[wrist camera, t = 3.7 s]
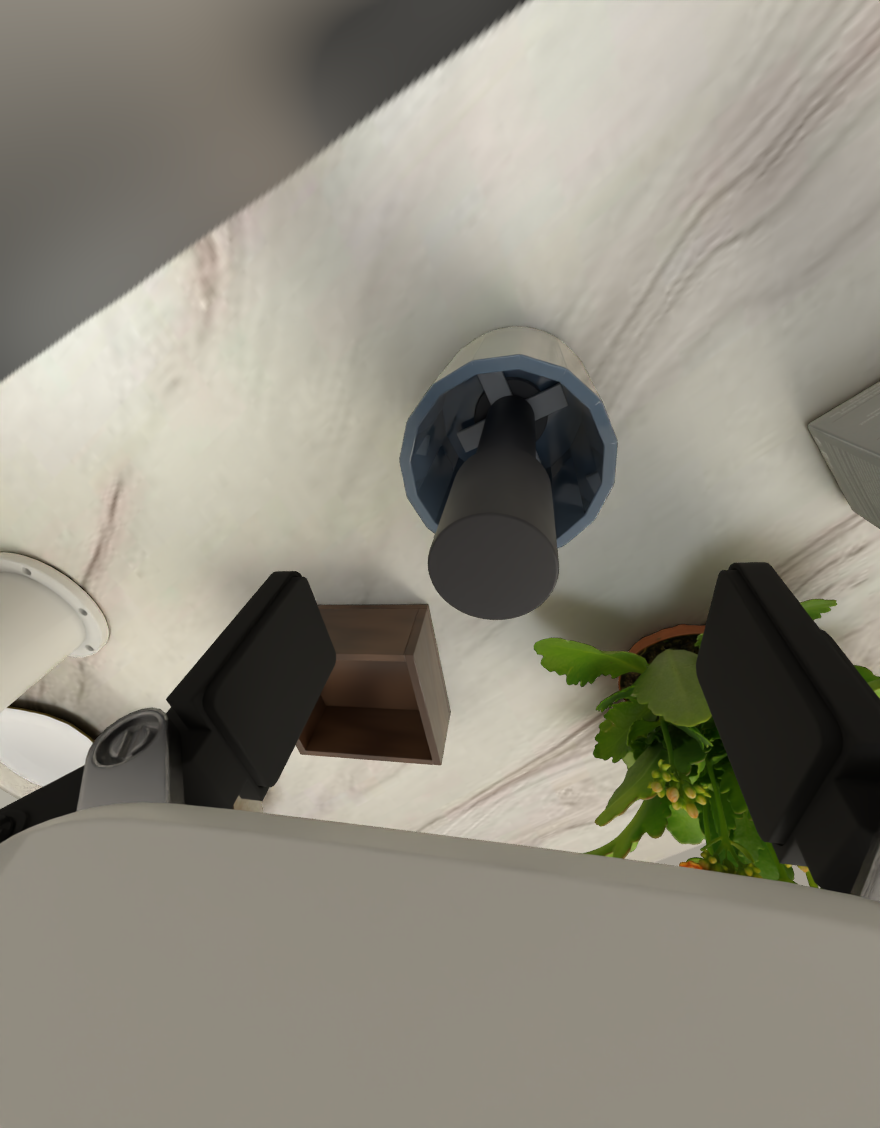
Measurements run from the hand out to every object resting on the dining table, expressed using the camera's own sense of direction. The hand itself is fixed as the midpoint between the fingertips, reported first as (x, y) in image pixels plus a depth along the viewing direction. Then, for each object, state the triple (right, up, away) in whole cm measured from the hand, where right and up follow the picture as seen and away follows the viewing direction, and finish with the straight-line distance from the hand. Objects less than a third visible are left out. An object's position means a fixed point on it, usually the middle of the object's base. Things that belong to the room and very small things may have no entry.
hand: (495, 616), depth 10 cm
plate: (-56, -25, +51) cm, 79 cm away
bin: (-8, -8, +29) cm, 31 cm away
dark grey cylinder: (+3, +10, +14) cm, 17 cm away
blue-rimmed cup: (+3, +10, +15) cm, 18 cm away
